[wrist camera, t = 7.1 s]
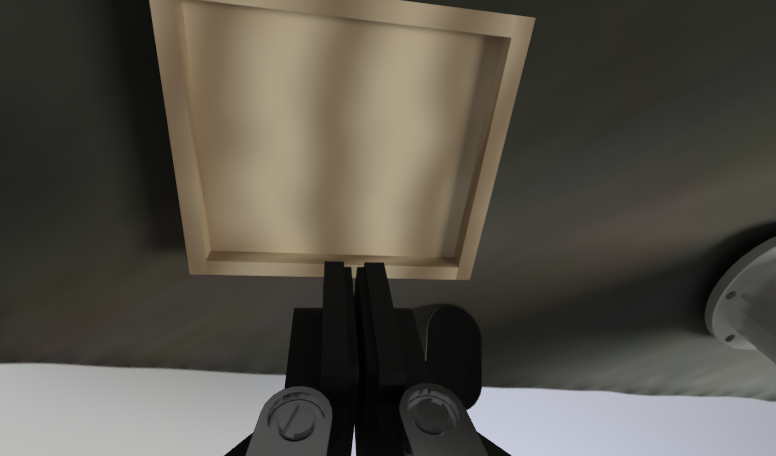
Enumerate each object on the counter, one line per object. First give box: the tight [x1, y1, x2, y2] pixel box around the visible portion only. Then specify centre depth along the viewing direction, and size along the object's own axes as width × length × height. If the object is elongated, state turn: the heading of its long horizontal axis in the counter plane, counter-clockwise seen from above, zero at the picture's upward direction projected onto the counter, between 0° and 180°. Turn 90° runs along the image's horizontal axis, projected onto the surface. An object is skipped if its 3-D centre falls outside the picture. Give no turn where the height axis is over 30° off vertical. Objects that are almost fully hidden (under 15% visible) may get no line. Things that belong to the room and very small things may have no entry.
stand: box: [423, 305, 482, 410], centre depth 34 cm, size 8×5×8 cm
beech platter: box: [149, 0, 535, 280], centre depth 24 cm, size 18×16×4 cm
